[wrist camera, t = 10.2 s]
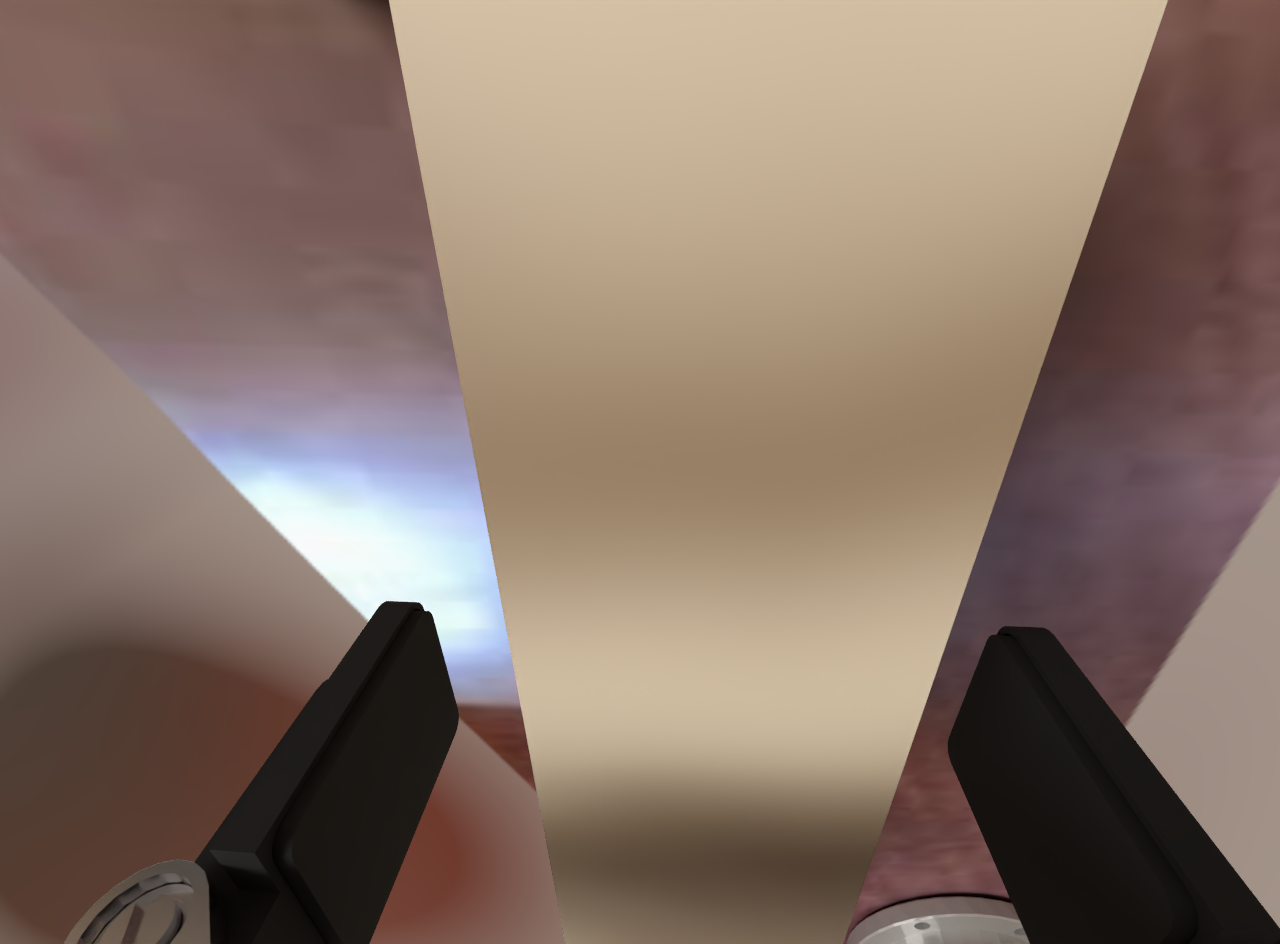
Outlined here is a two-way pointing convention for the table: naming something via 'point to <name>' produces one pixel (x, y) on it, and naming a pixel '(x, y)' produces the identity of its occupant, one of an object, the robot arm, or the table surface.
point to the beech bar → (747, 397)
